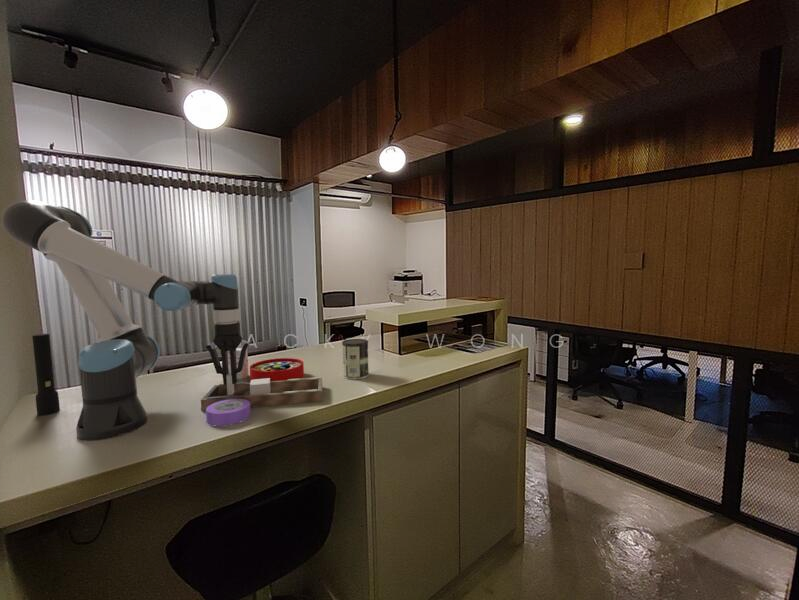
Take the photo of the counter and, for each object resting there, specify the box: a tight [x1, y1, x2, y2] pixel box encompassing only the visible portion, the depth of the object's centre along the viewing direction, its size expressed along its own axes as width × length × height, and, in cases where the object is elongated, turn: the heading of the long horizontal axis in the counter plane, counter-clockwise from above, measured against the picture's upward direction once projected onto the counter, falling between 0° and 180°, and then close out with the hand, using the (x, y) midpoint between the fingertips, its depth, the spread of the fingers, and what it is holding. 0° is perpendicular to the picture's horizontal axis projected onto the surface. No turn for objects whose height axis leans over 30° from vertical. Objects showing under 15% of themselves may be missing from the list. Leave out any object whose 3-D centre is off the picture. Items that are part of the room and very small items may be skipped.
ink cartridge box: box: [227, 339, 249, 380], centre depth 145 cm, size 9×5×15 cm, turn 84°
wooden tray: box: [200, 377, 323, 412], centre depth 122 cm, size 36×14×4 cm, turn 101°
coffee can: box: [341, 338, 370, 381], centre depth 145 cm, size 10×10×14 cm
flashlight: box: [31, 333, 60, 416], centre depth 110 cm, size 5×24×5 cm
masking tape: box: [205, 399, 252, 427], centre depth 106 cm, size 12×12×4 cm
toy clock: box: [249, 357, 305, 383], centre depth 143 cm, size 20×6×20 cm
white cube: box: [249, 378, 272, 395], centre depth 121 cm, size 6×6×6 cm
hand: (230, 393), depth 119 cm, fingers closed
